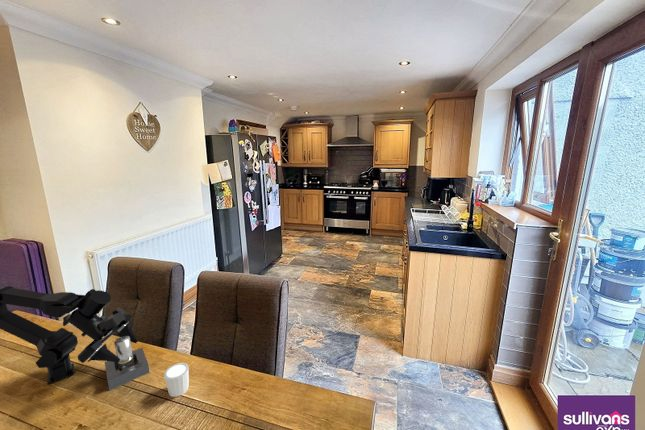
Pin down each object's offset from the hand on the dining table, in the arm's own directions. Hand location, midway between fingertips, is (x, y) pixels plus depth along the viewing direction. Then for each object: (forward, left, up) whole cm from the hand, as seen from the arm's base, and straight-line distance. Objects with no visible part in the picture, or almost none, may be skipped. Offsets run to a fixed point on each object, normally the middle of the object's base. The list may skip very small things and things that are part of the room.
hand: (128, 351), depth 92 cm
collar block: (-1, -1, -8) cm, 8 cm away
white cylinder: (+19, +10, -8) cm, 23 cm away
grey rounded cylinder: (-1, -1, -8) cm, 8 cm away
